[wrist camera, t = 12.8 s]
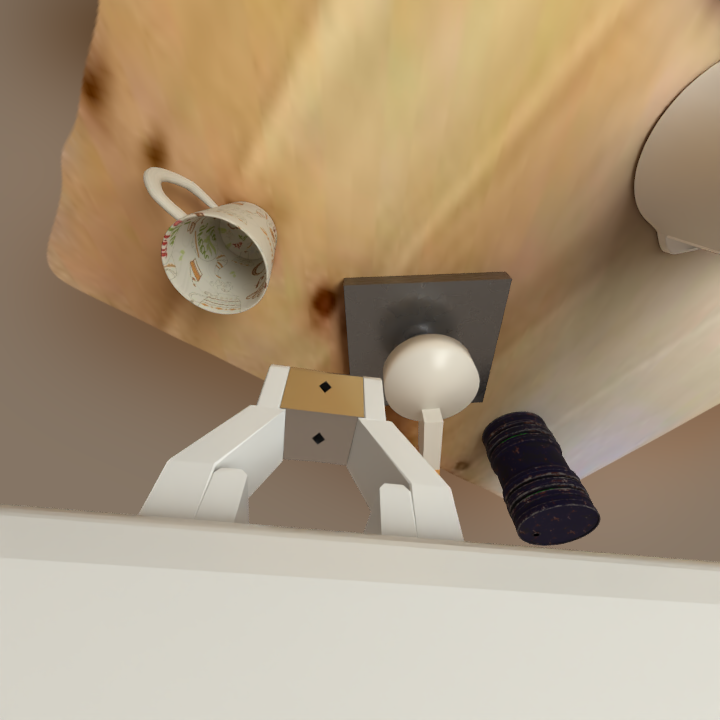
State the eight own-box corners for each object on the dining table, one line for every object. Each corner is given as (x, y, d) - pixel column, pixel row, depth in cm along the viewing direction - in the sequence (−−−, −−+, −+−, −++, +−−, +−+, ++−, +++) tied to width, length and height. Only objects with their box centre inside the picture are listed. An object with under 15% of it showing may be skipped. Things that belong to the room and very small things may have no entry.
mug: (255, 285, 39) (229, 331, 31) (151, 197, 33) (85, 225, 25) (304, 234, 35) (289, 271, 27) (198, 127, 30) (139, 134, 22)
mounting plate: (505, 271, 38) (526, 294, 33) (478, 392, 49) (491, 422, 44) (344, 278, 38) (342, 301, 34) (352, 396, 49) (352, 427, 44)
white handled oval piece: (380, 337, 36) (383, 366, 32) (476, 330, 35) (491, 358, 31) (387, 448, 47) (390, 480, 42) (461, 443, 46) (471, 476, 42)
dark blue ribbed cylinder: (527, 401, 50) (581, 494, 38) (557, 433, 54) (614, 526, 42) (469, 433, 54) (501, 526, 42) (501, 461, 58) (539, 553, 46)
